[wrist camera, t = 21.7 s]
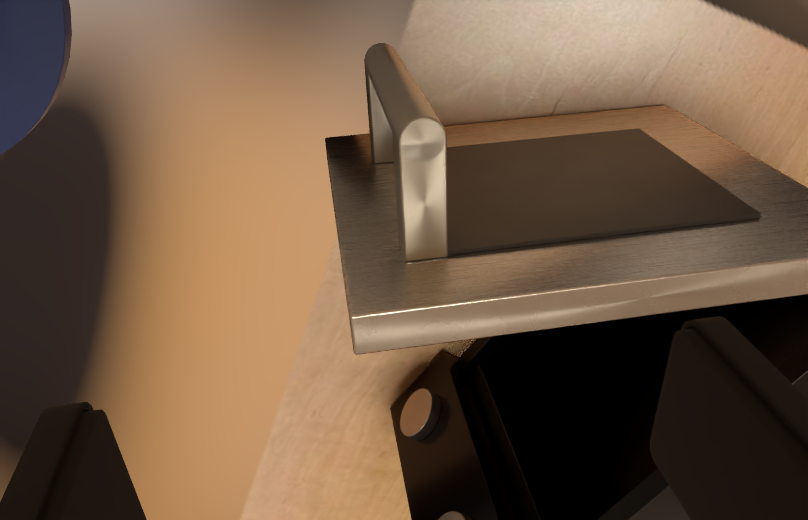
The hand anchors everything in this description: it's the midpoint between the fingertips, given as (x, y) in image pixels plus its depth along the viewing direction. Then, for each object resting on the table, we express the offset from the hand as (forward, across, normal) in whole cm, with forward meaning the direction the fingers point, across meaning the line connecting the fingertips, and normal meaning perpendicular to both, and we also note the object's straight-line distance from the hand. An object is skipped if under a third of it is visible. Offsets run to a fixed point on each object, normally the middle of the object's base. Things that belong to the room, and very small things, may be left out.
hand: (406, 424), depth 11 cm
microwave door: (+25, -9, +2) cm, 27 cm away
